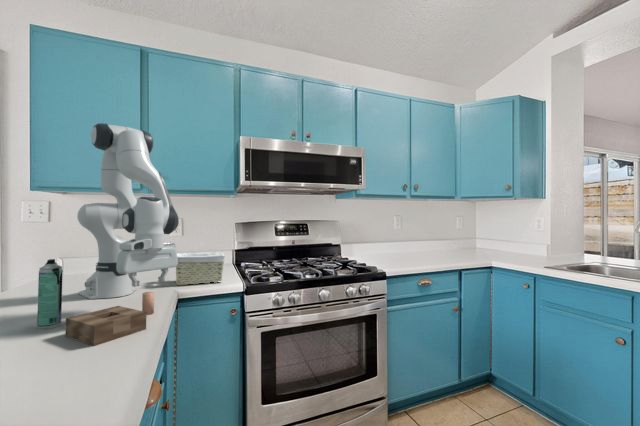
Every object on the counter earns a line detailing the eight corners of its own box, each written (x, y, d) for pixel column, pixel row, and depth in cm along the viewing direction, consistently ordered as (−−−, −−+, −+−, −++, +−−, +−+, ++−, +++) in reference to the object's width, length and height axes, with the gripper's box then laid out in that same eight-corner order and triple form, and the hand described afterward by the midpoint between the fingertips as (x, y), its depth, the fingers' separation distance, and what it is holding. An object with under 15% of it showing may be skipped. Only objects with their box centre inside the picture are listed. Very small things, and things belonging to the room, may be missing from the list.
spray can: (65, 322, 97) (67, 258, 98) (51, 329, 92) (53, 260, 92) (47, 322, 97) (49, 258, 97) (31, 329, 91) (33, 260, 92)
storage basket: (221, 278, 174) (222, 251, 175) (225, 283, 160) (225, 254, 160) (174, 281, 165) (174, 253, 165) (173, 287, 150) (174, 256, 150)
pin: (139, 314, 107) (140, 293, 107) (149, 311, 110) (149, 291, 110) (146, 315, 105) (146, 294, 105) (155, 312, 108) (156, 292, 108)
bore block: (65, 336, 86) (66, 317, 86) (117, 321, 99) (118, 305, 99) (93, 345, 80) (94, 326, 80) (146, 329, 92) (146, 312, 92)
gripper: (170, 241, 119) (169, 278, 118) (113, 244, 100) (113, 288, 100) (181, 242, 116) (181, 279, 115) (125, 245, 97) (125, 290, 97)
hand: (149, 283), depth 107 cm, fingers open, 8 cm apart
